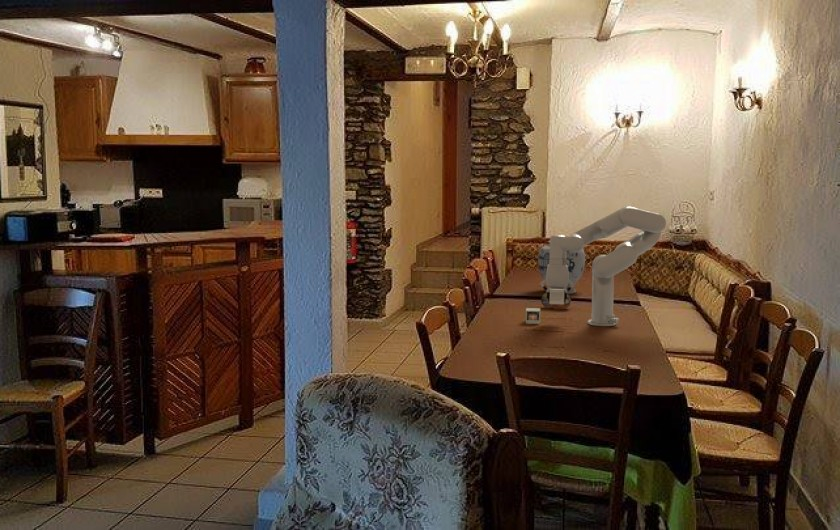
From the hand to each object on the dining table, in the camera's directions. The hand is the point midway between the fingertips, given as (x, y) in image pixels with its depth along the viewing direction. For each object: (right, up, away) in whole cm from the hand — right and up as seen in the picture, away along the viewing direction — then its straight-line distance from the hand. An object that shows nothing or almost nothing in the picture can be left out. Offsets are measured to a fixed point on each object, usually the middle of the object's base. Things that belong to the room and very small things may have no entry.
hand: (556, 300), depth 339 cm
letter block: (-10, -10, +3) cm, 15 cm away
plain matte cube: (-10, -10, +3) cm, 15 cm away
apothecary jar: (+20, 0, +92) cm, 94 cm away
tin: (+7, -6, +38) cm, 39 cm away
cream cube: (0, -1, 0) cm, 1 cm away
